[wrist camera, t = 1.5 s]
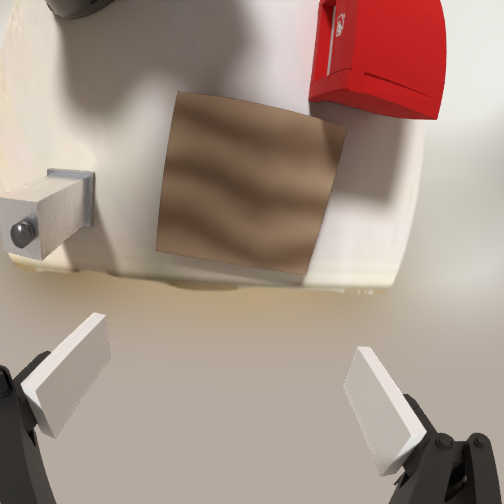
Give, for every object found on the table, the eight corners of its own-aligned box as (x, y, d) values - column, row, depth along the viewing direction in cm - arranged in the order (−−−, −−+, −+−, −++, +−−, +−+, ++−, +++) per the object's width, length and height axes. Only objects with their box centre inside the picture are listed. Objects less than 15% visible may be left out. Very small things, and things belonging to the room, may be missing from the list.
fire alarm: (316, 0, 26) (355, -48, 13) (385, 22, 28) (444, -6, 14) (304, 100, 33) (346, 87, 20) (376, 117, 34) (442, 122, 21)
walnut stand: (185, 95, 32) (177, 91, 27) (333, 126, 35) (347, 127, 30) (164, 236, 40) (155, 251, 36) (298, 258, 43) (305, 275, 38)
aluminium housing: (50, 168, 34) (-16, 195, 20) (94, 171, 35) (31, 201, 21) (51, 219, 37) (-7, 261, 24) (92, 225, 39) (39, 274, 25)
